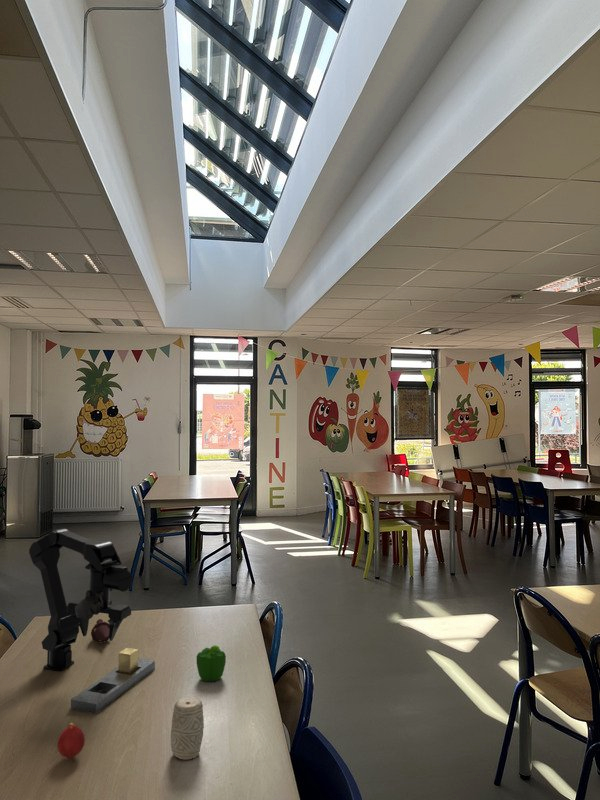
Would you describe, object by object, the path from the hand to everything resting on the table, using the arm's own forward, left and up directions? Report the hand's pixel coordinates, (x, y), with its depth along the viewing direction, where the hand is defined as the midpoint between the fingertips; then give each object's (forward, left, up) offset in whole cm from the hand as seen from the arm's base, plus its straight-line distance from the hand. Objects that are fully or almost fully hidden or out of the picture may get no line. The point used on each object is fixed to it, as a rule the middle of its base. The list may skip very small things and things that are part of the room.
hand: (97, 638), depth 169 cm
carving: (+44, -25, -12) cm, 52 cm away
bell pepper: (+32, +11, -12) cm, 36 cm away
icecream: (-16, +23, -12) cm, 31 cm away
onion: (+20, -35, -12) cm, 42 cm away
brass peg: (+9, +3, -12) cm, 15 cm away
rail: (+9, -3, -12) cm, 15 cm away
